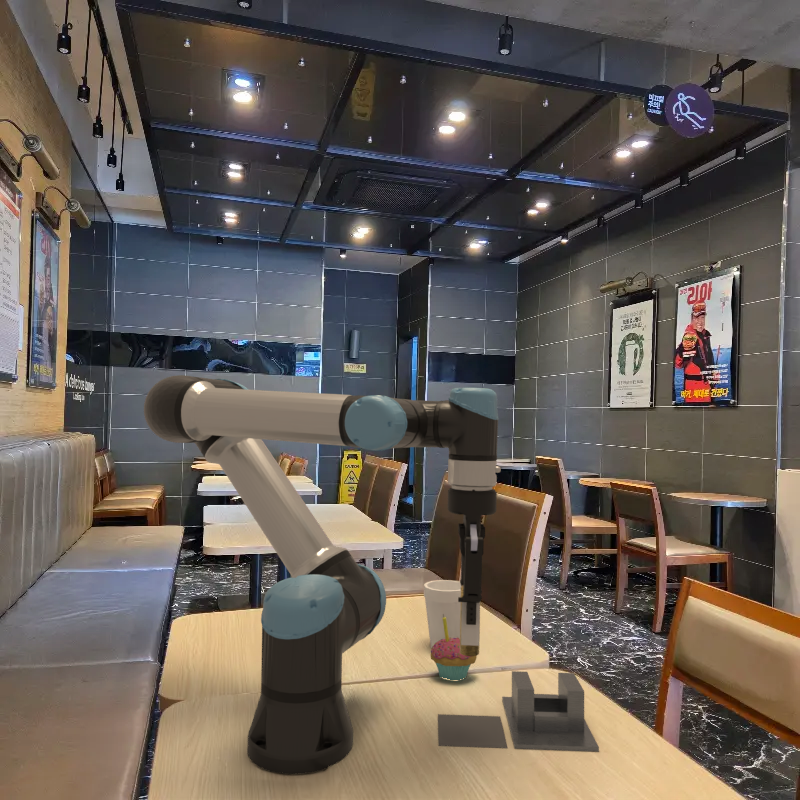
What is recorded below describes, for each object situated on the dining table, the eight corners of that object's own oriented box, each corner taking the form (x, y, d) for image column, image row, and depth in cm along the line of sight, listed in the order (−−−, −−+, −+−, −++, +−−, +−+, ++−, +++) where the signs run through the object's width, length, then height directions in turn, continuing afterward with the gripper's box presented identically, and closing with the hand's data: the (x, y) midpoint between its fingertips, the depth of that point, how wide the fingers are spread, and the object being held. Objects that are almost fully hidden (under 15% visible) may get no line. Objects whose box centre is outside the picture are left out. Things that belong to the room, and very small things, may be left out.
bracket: (514, 751, 91) (514, 701, 91) (502, 702, 107) (502, 660, 107) (598, 754, 90) (598, 704, 91) (573, 705, 106) (573, 662, 107)
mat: (438, 748, 92) (438, 745, 92) (437, 716, 102) (437, 714, 102) (507, 750, 91) (507, 748, 91) (500, 718, 101) (500, 716, 101)
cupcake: (438, 689, 112) (439, 621, 113) (424, 671, 120) (424, 607, 121) (483, 684, 114) (483, 617, 115) (466, 667, 123) (466, 604, 123)
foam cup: (468, 641, 138) (468, 580, 138) (468, 656, 128) (468, 592, 129) (424, 639, 139) (425, 579, 139) (421, 654, 129) (422, 590, 130)
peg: (460, 655, 96) (461, 589, 96) (459, 648, 99) (460, 584, 99) (480, 656, 95) (481, 589, 96) (478, 649, 98) (479, 584, 99)
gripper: (502, 493, 90) (499, 660, 89) (491, 483, 106) (489, 625, 105) (449, 492, 90) (446, 658, 89) (446, 482, 106) (443, 623, 105)
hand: (469, 640), depth 97 cm, fingers closed on peg, 3 cm apart
